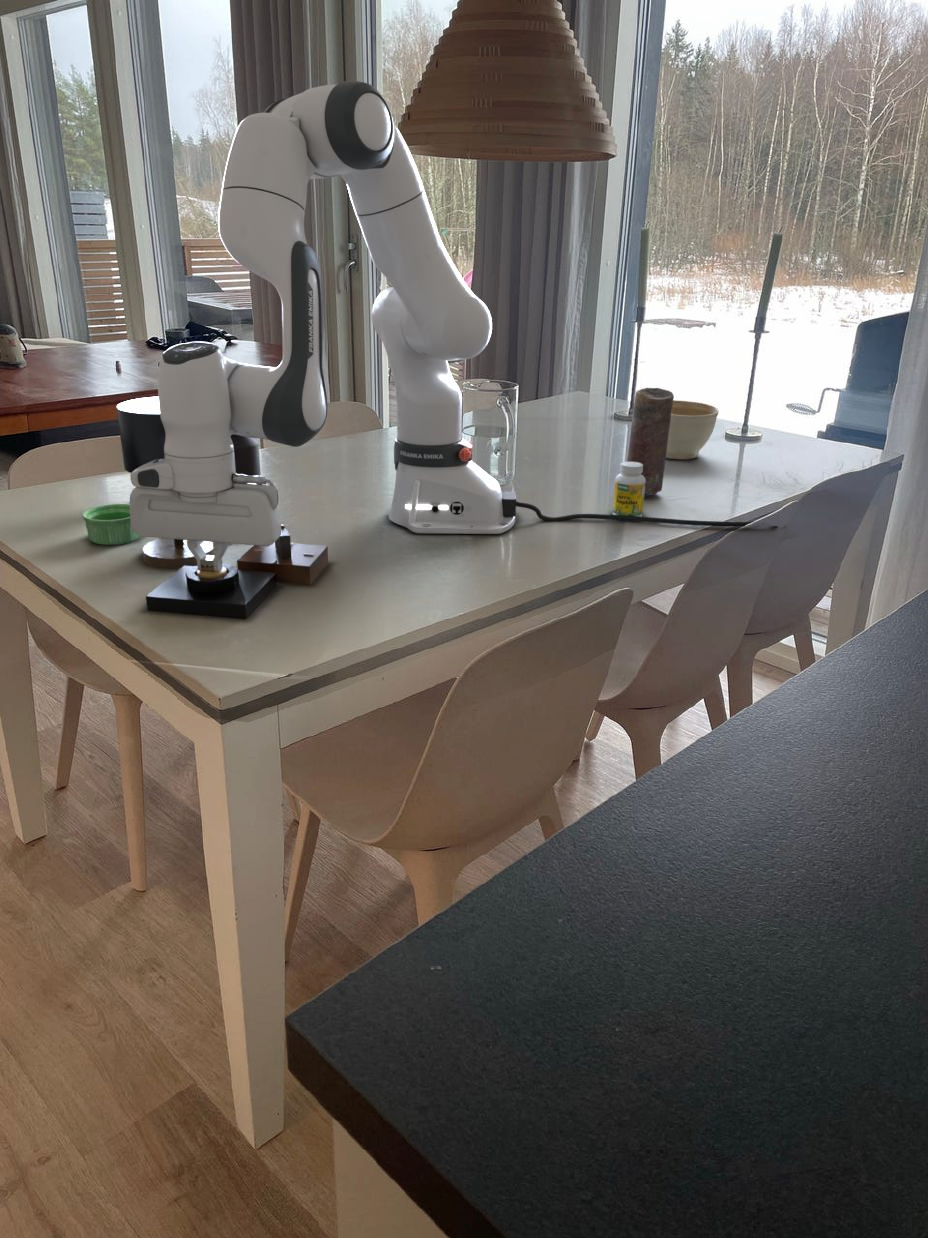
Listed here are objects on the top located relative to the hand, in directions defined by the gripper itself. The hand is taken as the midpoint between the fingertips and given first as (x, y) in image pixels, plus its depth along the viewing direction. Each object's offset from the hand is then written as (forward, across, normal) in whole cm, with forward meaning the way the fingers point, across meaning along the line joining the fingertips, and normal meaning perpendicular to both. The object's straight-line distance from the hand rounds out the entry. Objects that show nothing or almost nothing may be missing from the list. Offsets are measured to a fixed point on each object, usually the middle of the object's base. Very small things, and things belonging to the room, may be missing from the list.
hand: (210, 570), depth 128 cm
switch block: (+4, 0, 0) cm, 4 cm away
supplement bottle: (+4, -57, -52) cm, 77 cm away
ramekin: (+4, +26, -21) cm, 34 cm away
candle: (+4, -60, -67) cm, 90 cm away
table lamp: (+4, +12, -15) cm, 20 cm away
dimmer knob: (+1, -6, -12) cm, 14 cm away
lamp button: (+2, 0, 0) cm, 2 cm away
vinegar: (+4, +7, -29) cm, 30 cm away
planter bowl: (+4, -68, -101) cm, 122 cm away
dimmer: (+4, -6, -12) cm, 14 cm away
